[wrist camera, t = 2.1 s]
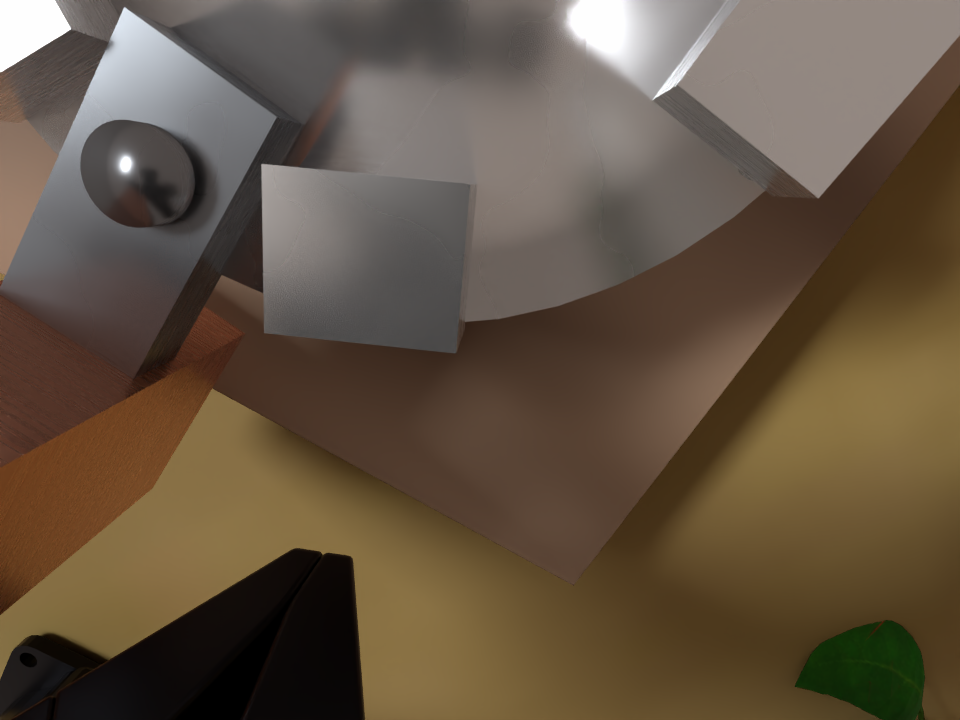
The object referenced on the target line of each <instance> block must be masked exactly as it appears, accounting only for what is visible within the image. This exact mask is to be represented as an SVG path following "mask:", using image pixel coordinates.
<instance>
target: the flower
mask: <svg viewBox="0 0 960 720" xmlns="http://www.w3.org/2000/svg"><path fill="white" fill-rule="evenodd" d="M924 681H925V675H924V667H923V659H922V655H921V652H920V650H919V648H918V646H917V644H916V642H915V641H914V639H913V637H912V636H911V635H910V634H909V633H908V632H907V631H906V630H905V629H904V628H903V627H902V626H901V625H899V624H897V623H895V622H893V621H889V620H886V621H883V622H876V623H873V624H867V625H864V626H860V627H856V628H853V629H851V630H849V631H846V632H844V633H842V634H840V635H837V636H835V637H833V638H831V639H828V640H826V641H825V642H823V643H821V644H820V645H819V646H818V647H817V648H816V649H815V650H814V651H813V653H812V654H811V656H810V657H809V659H808V661H807V663H806V665H805V666H804V668H803V670H802V672H801V674H800V676H799V678H798V680H797V682H796V684H795V687H798V688H802V689H807V690H811V691H815V692H818V693H821V694H828V695H831V696H833V697H835V698H838V699H840V700H843V701H846V702H849V703H851V704H853V705H855V706H857V707H859V708H861V709H862V710H864V711H866V712H868V713H870V714H872V715H874V716H876V717H878V718H880V719H883V720H915V719H916V717H917V715H918V720H925V718H924V712H923V708H922V697H923V689H924Z"/></svg>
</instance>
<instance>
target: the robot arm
mask: <svg viewBox="0 0 960 720" xmlns="http://www.w3.org/2000/svg"><path fill="white" fill-rule="evenodd" d="M0 720H365V713H364V700H363V686H362V673H361V660H360V646H359V633H358V620H357V607H356V593H355V580H354V567H353V559H352V557H350V556H347V555H340V554H333V553H326V554H324V555H322V553H321V552H319V551H313V550H307V549H300V548H295V549H292V550H290V551H289V552H287V553H285V554H284V555H282V556H280V557H279V558H277V559H275V560H274V561H272V562H270V563H269V564H267V565H265V566H264V567H262V568H260V569H259V570H257V571H255V572H254V573H252V574H250V575H249V576H247V577H246V578H244V579H242V580H241V581H239V582H237V583H236V584H234V585H232V586H231V587H229V588H227V589H226V590H224V591H222V592H221V593H219V594H217V595H216V596H214V597H212V598H211V599H209V600H208V601H206V602H204V603H203V604H201V605H199V606H198V607H196V608H194V609H193V610H191V611H189V612H188V613H186V614H184V615H183V616H181V617H179V618H178V619H176V620H174V621H173V622H171V623H169V624H168V625H166V626H165V627H163V628H161V629H160V630H158V631H156V632H155V633H153V634H151V635H150V636H148V637H146V638H145V639H143V640H141V641H140V642H138V643H136V644H135V645H133V646H131V647H130V648H128V649H127V650H125V651H123V652H122V653H120V654H118V655H117V656H115V657H113V658H112V659H110V660H108V661H107V662H105V663H103V664H102V665H100V664H98V663H96V662H94V661H92V660H90V659H88V658H86V657H84V656H82V655H80V654H78V653H76V652H74V651H71V650H69V649H67V648H65V647H63V646H61V645H59V644H57V643H55V642H53V641H51V640H49V639H47V638H45V637H42V636H39V635H31V636H29V637H26V638H25V639H24V640H23V641H22V642H21V643H20V644H19V645H18V646H17V647H16V648H15V649H14V650H13V651H12V653H11V655H10V658H9V660H8V662H7V665H6V667H5V670H4V672H3V674H2V677H1V679H0Z"/></svg>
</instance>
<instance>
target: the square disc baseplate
mask: <svg viewBox="0 0 960 720" xmlns="http://www.w3.org/2000/svg"><path fill="white" fill-rule="evenodd" d="M959 85H960V36H959V37H958V38H957V39H956V40H955V41H954V43H953V44H952V45H951V46H950V47H949V48H948V50H947V51H946V52H945V53H944V54H943V55H942V56H941V58H940V59H939V60H938V61H937V62H936V63H935V65H934V66H933V67H932V68H931V69H930V70H929V71H928V73H927V74H926V75H925V76H924V77H923V78H922V80H921V81H920V82H919V83H918V84H917V85H916V86H915V88H914V89H913V90H912V91H911V92H910V93H909V95H908V96H907V97H906V98H905V99H904V100H903V101H902V103H901V104H900V105H899V106H898V107H897V108H896V110H895V111H894V112H893V113H892V114H891V115H890V116H889V118H888V119H887V120H886V121H885V122H884V123H883V125H882V126H881V127H880V128H879V129H878V130H877V131H876V133H875V134H874V135H873V136H872V137H871V138H870V140H869V141H868V142H867V143H866V144H865V145H864V146H863V148H862V149H861V150H860V151H859V152H858V153H857V155H856V156H855V157H854V158H853V159H852V160H851V161H850V163H849V164H848V165H847V166H846V167H845V168H844V170H843V171H842V172H841V173H840V174H839V175H838V176H837V178H836V179H835V180H834V181H833V182H832V183H831V185H830V186H829V187H828V188H827V189H826V190H825V191H824V193H823V194H822V195H821V196H820V197H819V198H800V197H778V196H772V195H771V194H769V193H768V192H767V191H766V190H765V191H764V192H763V193H762V194H761V195H759V196H758V197H757V198H756V199H755V200H754V201H752V202H751V203H750V204H749V205H748V206H746V207H745V208H744V209H743V210H742V211H741V212H739V213H738V214H737V215H736V216H735V217H733V218H732V219H730V220H729V221H727V222H726V223H724V224H723V225H721V226H720V227H718V228H717V229H715V230H714V231H712V232H711V233H709V234H708V235H706V236H705V237H703V238H702V239H700V240H699V241H697V242H696V243H694V244H693V245H691V246H690V247H688V248H687V249H685V250H684V251H682V252H681V253H679V254H678V255H676V256H674V257H672V258H670V259H668V260H666V261H664V262H662V263H660V264H658V265H656V266H654V267H652V268H650V269H648V270H646V271H644V272H642V273H640V274H638V275H636V276H635V277H633V278H631V279H629V280H627V281H625V282H623V283H621V284H619V285H616V286H613V287H610V288H608V289H605V290H602V291H599V292H596V293H594V294H591V295H588V296H585V297H582V298H580V299H577V300H574V301H571V302H568V303H566V304H563V305H560V306H556V307H551V308H547V309H542V310H538V311H533V312H529V313H524V314H519V315H515V316H510V317H506V318H501V319H492V320H481V321H469V322H465V330H464V333H463V336H462V338H461V341H460V344H459V347H458V349H457V352H456V354H455V353H446V352H437V351H427V350H418V349H409V348H399V347H390V346H380V345H371V344H362V343H352V342H343V341H334V340H324V339H315V338H306V337H296V336H287V335H278V334H268V333H264V297H263V293H261V292H259V291H257V290H254V289H252V288H250V287H248V286H245V285H243V284H241V283H239V282H236V281H234V280H232V279H230V278H227V277H225V276H223V275H222V276H221V277H220V279H219V281H218V283H217V284H216V286H215V288H214V290H213V292H212V293H211V295H210V297H209V299H208V300H207V302H206V304H205V307H206V308H208V309H209V310H211V311H212V312H214V313H215V314H217V315H218V316H220V317H221V318H223V319H224V320H226V321H227V322H229V323H230V324H232V325H233V326H235V327H236V328H238V329H239V330H241V331H242V332H244V333H245V335H244V336H243V338H242V340H241V341H240V343H239V345H238V346H237V348H236V350H235V351H234V353H233V355H232V356H231V358H230V360H229V361H228V363H227V365H226V366H225V368H224V370H223V371H222V373H221V375H220V376H219V378H218V380H217V381H216V383H215V385H214V386H213V389H215V390H216V391H218V392H220V393H222V394H224V395H226V396H227V397H229V398H231V399H233V400H235V401H237V402H238V403H240V404H242V405H244V406H246V407H248V408H249V409H251V410H253V411H255V412H257V413H259V414H260V415H262V416H264V417H266V418H268V419H270V420H271V421H273V422H275V423H277V424H279V425H280V426H282V427H284V428H286V429H288V430H290V431H291V432H293V433H295V434H297V435H299V436H301V437H302V438H304V439H306V440H308V441H310V442H312V443H313V444H315V445H317V446H319V447H321V448H323V449H324V450H326V451H328V452H330V453H332V454H334V455H335V456H337V457H339V458H341V459H343V460H345V461H346V462H348V463H350V464H352V465H354V466H356V467H357V468H359V469H361V470H363V471H365V472H367V473H368V474H370V475H372V476H374V477H376V478H378V479H379V480H381V481H383V482H385V483H387V484H389V485H390V486H392V487H394V488H396V489H398V490H400V491H401V492H403V493H405V494H407V495H409V496H411V497H412V498H414V499H416V500H418V501H420V502H422V503H423V504H425V505H427V506H429V507H431V508H433V509H434V510H436V511H438V512H440V513H442V514H444V515H445V516H447V517H449V518H451V519H453V520H455V521H456V522H458V523H460V524H462V525H464V526H466V527H467V528H469V529H471V530H473V531H475V532H476V533H478V534H480V535H482V536H484V537H486V538H487V539H489V540H491V541H493V542H495V543H497V544H498V545H500V546H502V547H504V548H506V549H508V550H509V551H511V552H513V553H515V554H517V555H519V556H520V557H522V558H524V559H526V560H528V561H530V562H531V563H533V564H535V565H537V566H539V567H541V568H542V569H544V570H546V571H548V572H550V573H552V574H553V575H555V576H557V577H559V578H561V579H563V580H564V581H566V582H568V583H570V584H572V585H574V584H575V583H576V581H577V580H578V579H579V578H580V576H581V575H582V574H583V572H584V571H585V570H586V568H587V567H588V566H589V565H590V563H591V562H592V561H593V559H594V558H595V557H596V556H597V554H598V553H599V552H600V550H601V549H602V548H603V546H604V545H605V544H606V543H607V541H608V540H609V539H610V537H611V536H612V535H613V533H614V532H615V531H616V530H617V528H618V527H619V526H620V524H621V523H622V522H623V521H624V519H625V518H626V517H627V515H628V514H629V513H630V511H631V510H632V509H633V508H634V506H635V505H636V504H637V502H638V501H639V500H640V499H641V497H642V496H643V495H644V493H645V492H646V491H647V489H648V488H649V487H650V486H651V484H652V483H653V482H654V480H655V479H656V478H657V476H658V475H659V474H660V473H661V471H662V470H663V469H664V467H665V466H666V465H667V464H668V462H669V461H670V460H671V458H672V457H673V456H674V454H675V453H676V452H677V451H678V449H679V448H680V447H681V445H682V444H683V443H684V441H685V440H686V439H687V438H688V436H689V435H690V434H691V432H692V431H693V430H694V429H695V427H696V426H697V425H698V423H699V422H700V421H701V419H702V418H703V417H704V416H705V414H706V413H707V412H708V410H709V409H710V408H711V407H712V405H713V404H714V403H715V401H716V400H717V399H718V397H719V396H720V395H721V394H722V392H723V391H724V390H725V388H726V387H727V386H728V384H729V383H730V382H731V381H732V379H733V378H734V377H735V375H736V374H737V373H738V372H739V370H740V369H741V368H742V366H743V365H744V364H745V362H746V361H747V360H748V359H749V357H750V356H751V355H752V353H753V352H754V351H755V350H756V348H757V347H758V346H759V344H760V343H761V342H762V340H763V339H764V338H765V337H766V335H767V334H768V333H769V331H770V330H771V329H772V327H773V326H774V325H775V324H776V322H777V321H778V320H779V318H780V317H781V316H782V315H783V313H784V312H785V311H786V309H787V308H788V307H789V305H790V304H791V303H792V302H793V300H794V299H795V298H796V296H797V295H798V294H799V293H800V291H801V290H802V289H803V287H804V286H805V285H806V283H807V282H808V281H809V280H810V278H811V277H812V276H813V274H814V273H815V272H816V270H817V269H818V268H819V267H820V265H821V264H822V263H823V261H824V260H825V259H826V258H827V256H828V255H829V254H830V252H831V251H832V250H833V248H834V247H835V246H836V245H837V243H838V242H839V241H840V239H841V238H842V237H843V236H844V234H845V233H846V232H847V230H848V229H849V228H850V226H851V225H852V224H853V223H854V221H855V220H856V219H857V217H858V216H859V215H860V213H861V212H862V211H863V210H864V208H865V207H866V206H867V204H868V203H869V202H870V201H871V199H872V198H873V197H874V195H875V194H876V193H877V191H878V190H879V189H880V188H881V186H882V185H883V184H884V182H885V181H886V180H887V178H888V177H889V176H890V175H891V173H892V172H893V171H894V169H895V168H896V167H897V166H898V164H899V163H900V162H901V160H902V159H903V158H904V156H905V155H906V154H907V153H908V151H909V150H910V149H911V147H912V146H913V145H914V144H915V142H916V141H917V140H918V138H919V137H920V136H921V134H922V133H923V132H924V131H925V129H926V128H927V127H928V125H929V124H930V123H931V121H932V120H933V119H934V118H935V116H936V115H937V114H938V112H939V111H940V110H941V109H942V107H943V106H944V105H945V103H946V102H947V101H948V99H949V98H950V97H951V96H952V94H953V93H954V92H955V90H956V89H957V88H958V87H959ZM57 158H58V155H57V154H56V153H55V152H54V151H53V150H52V149H51V147H50V146H49V145H48V144H47V143H46V142H45V140H44V139H43V138H42V137H41V136H40V134H39V133H38V132H37V131H36V130H35V129H34V127H33V126H32V125H31V124H30V123H29V122H28V120H27V119H26V120H24V121H22V122H20V123H14V122H6V121H0V273H2V274H4V275H6V273H7V271H8V269H9V266H10V264H11V262H12V259H13V257H14V255H15V253H16V250H17V248H18V246H19V244H20V241H21V239H22V237H23V235H24V232H25V230H26V228H27V226H28V223H29V221H30V219H31V217H32V214H33V212H34V210H35V208H36V205H37V203H38V201H39V199H40V196H41V194H42V192H43V190H44V187H45V185H46V183H47V181H48V178H49V176H50V174H51V172H52V169H53V167H54V165H55V162H56V160H57Z"/></svg>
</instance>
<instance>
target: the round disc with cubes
mask: <svg viewBox="0 0 960 720" xmlns="http://www.w3.org/2000/svg"><path fill="white" fill-rule="evenodd" d="M959 36H960V0H0V121H6V122H14V123H20V122H22V121H24V120H26V119H27V120H28V122H29V123H30V124H31V125H32V126H33V127H34V129H35V130H36V131H37V132H38V133H39V134H40V136H41V137H42V138H43V139H44V140H45V142H46V143H47V144H48V145H49V146H50V147H51V149H52V150H53V151H54V152H55V153H56V154H57V155H58V158H57V160H56V162H55V165H54V167H53V169H52V172H51V174H50V176H49V178H48V181H47V183H46V185H45V187H44V190H43V192H42V194H41V196H40V199H39V201H38V203H37V205H36V208H35V210H34V212H33V214H32V217H31V219H30V221H29V223H28V226H27V228H26V230H25V232H24V235H23V237H22V239H21V241H20V244H19V246H18V248H17V250H16V253H15V255H14V257H13V259H12V262H11V264H10V266H9V269H8V271H7V273H6V275H5V278H4V280H2V281H0V615H1V614H2V613H3V612H4V611H6V610H7V609H8V608H9V607H10V606H12V605H13V604H14V603H15V602H16V601H18V600H19V599H20V598H21V597H22V596H24V595H25V594H26V593H27V592H28V591H30V590H31V589H32V588H33V587H34V586H36V585H37V584H38V583H39V582H40V581H42V580H43V579H44V578H45V577H46V576H48V575H49V574H50V573H51V572H52V571H54V570H55V569H56V568H57V567H58V566H60V565H61V564H62V563H63V562H64V561H66V560H67V559H68V558H69V557H70V556H72V555H73V554H74V553H75V552H76V551H78V550H79V549H80V548H81V547H82V546H84V545H85V544H86V543H87V542H88V541H90V540H91V539H92V538H93V537H94V536H96V535H97V534H98V533H99V532H100V531H102V530H103V529H104V528H105V527H106V526H108V525H109V524H110V523H111V522H112V521H114V520H115V519H116V518H117V517H118V516H120V515H121V514H122V513H123V512H124V511H126V510H127V509H128V508H129V507H130V506H132V505H133V504H134V503H135V502H136V501H138V500H139V499H140V498H141V497H142V496H144V495H145V494H146V493H147V492H148V491H150V490H151V489H152V488H153V486H154V485H155V483H156V481H157V480H158V478H159V476H160V475H161V473H162V471H163V470H164V468H165V466H166V465H167V463H168V461H169V460H170V458H171V456H172V455H173V453H174V451H175V450H176V448H177V446H178V445H179V443H180V441H181V440H182V438H183V436H184V435H185V433H186V431H187V430H188V428H189V426H190V425H191V423H192V421H193V420H194V418H195V416H196V415H197V413H198V411H199V410H200V408H201V406H202V405H203V403H204V401H205V400H206V398H207V396H208V395H209V393H210V391H211V390H212V388H213V386H214V385H215V383H216V381H217V380H218V378H219V376H220V375H221V373H222V371H223V370H224V368H225V366H226V365H227V363H228V361H229V360H230V358H231V356H232V355H233V353H234V351H235V350H236V348H237V346H238V345H239V343H240V341H241V340H242V338H243V336H244V335H245V333H244V332H242V331H241V330H239V329H238V328H236V327H235V326H233V325H232V324H230V323H229V322H227V321H226V320H224V319H223V318H221V317H220V316H218V315H217V314H215V313H214V312H212V311H211V310H209V309H208V308H206V307H205V304H206V302H207V300H208V299H209V297H210V295H211V293H212V292H213V290H214V288H215V286H216V284H217V283H218V281H219V279H220V277H221V276H222V275H223V276H225V277H227V278H230V279H232V280H234V281H236V282H239V283H241V284H243V285H245V286H248V287H250V288H252V289H254V290H257V291H259V292H261V293H263V297H264V333H268V334H278V335H287V336H296V337H306V338H315V339H324V340H334V341H343V342H352V343H362V344H371V345H380V346H390V347H399V348H409V349H418V350H427V351H437V352H446V353H455V354H456V352H457V349H458V347H459V344H460V341H461V338H462V336H463V333H464V330H465V322H469V321H481V320H492V319H501V318H506V317H510V316H515V315H519V314H524V313H529V312H533V311H538V310H542V309H547V308H551V307H556V306H560V305H563V304H566V303H568V302H571V301H574V300H577V299H580V298H582V297H585V296H588V295H591V294H594V293H596V292H599V291H602V290H605V289H608V288H610V287H613V286H616V285H619V284H621V283H623V282H625V281H627V280H629V279H631V278H633V277H635V276H636V275H638V274H640V273H642V272H644V271H646V270H648V269H650V268H652V267H654V266H656V265H658V264H660V263H662V262H664V261H666V260H668V259H670V258H672V257H674V256H676V255H678V254H679V253H681V252H682V251H684V250H685V249H687V248H688V247H690V246H691V245H693V244H694V243H696V242H697V241H699V240H700V239H702V238H703V237H705V236H706V235H708V234H709V233H711V232H712V231H714V230H715V229H717V228H718V227H720V226H721V225H723V224H724V223H726V222H727V221H729V220H730V219H732V218H733V217H735V216H736V215H737V214H738V213H739V212H741V211H742V210H743V209H744V208H745V207H746V206H748V205H749V204H750V203H751V202H752V201H754V200H755V199H756V198H757V197H758V196H759V195H761V194H762V193H763V192H764V191H765V190H766V191H767V192H768V193H769V194H771V195H772V196H778V197H800V198H819V197H820V196H821V195H822V194H823V193H824V191H825V190H826V189H827V188H828V187H829V186H830V185H831V183H832V182H833V181H834V180H835V179H836V178H837V176H838V175H839V174H840V173H841V172H842V171H843V170H844V168H845V167H846V166H847V165H848V164H849V163H850V161H851V160H852V159H853V158H854V157H855V156H856V155H857V153H858V152H859V151H860V150H861V149H862V148H863V146H864V145H865V144H866V143H867V142H868V141H869V140H870V138H871V137H872V136H873V135H874V134H875V133H876V131H877V130H878V129H879V128H880V127H881V126H882V125H883V123H884V122H885V121H886V120H887V119H888V118H889V116H890V115H891V114H892V113H893V112H894V111H895V110H896V108H897V107H898V106H899V105H900V104H901V103H902V101H903V100H904V99H905V98H906V97H907V96H908V95H909V93H910V92H911V91H912V90H913V89H914V88H915V86H916V85H917V84H918V83H919V82H920V81H921V80H922V78H923V77H924V76H925V75H926V74H927V73H928V71H929V70H930V69H931V68H932V67H933V66H934V65H935V63H936V62H937V61H938V60H939V59H940V58H941V56H942V55H943V54H944V53H945V52H946V51H947V50H948V48H949V47H950V46H951V45H952V44H953V43H954V41H955V40H956V39H957V38H958V37H959Z"/></svg>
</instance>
